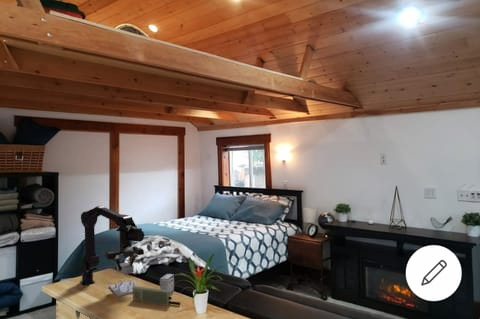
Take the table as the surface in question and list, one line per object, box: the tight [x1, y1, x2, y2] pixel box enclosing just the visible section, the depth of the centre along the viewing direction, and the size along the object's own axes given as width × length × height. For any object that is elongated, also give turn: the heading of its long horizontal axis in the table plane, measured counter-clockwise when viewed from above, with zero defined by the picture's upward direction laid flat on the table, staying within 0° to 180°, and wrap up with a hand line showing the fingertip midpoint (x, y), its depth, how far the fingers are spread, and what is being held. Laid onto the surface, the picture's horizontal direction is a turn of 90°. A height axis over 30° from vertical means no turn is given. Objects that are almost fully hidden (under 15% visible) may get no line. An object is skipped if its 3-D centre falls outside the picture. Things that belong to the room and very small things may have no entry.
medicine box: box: [159, 273, 175, 294], centre depth 178 cm, size 8×4×9 cm, turn 169°
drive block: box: [115, 262, 135, 276], centre depth 183 cm, size 9×5×4 cm, turn 46°
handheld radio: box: [132, 285, 181, 306], centre depth 165 cm, size 7×3×25 cm
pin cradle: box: [108, 278, 138, 297], centre depth 183 cm, size 16×12×4 cm
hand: (124, 269), depth 183 cm, fingers closed on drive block, 5 cm apart
